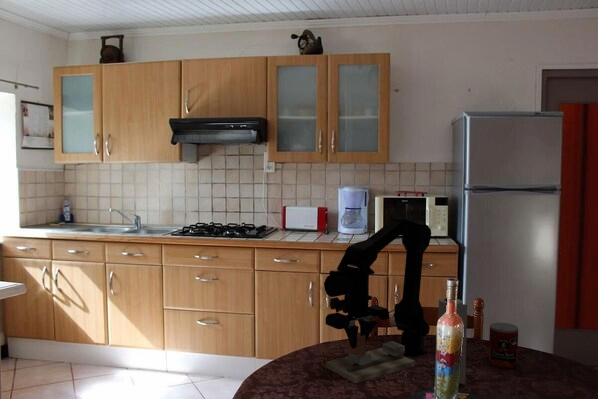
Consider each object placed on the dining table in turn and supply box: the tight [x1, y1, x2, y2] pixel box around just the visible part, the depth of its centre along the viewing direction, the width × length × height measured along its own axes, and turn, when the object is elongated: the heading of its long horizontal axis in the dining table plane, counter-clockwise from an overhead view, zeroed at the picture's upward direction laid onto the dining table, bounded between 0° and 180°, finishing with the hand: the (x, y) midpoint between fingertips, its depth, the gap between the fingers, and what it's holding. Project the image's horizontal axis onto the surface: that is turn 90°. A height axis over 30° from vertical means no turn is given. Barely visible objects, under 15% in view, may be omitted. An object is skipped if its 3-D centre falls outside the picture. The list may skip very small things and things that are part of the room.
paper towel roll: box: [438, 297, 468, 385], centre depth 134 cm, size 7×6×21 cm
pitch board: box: [324, 340, 416, 384], centre depth 143 cm, size 22×13×5 cm, turn 124°
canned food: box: [488, 322, 519, 369], centre depth 146 cm, size 8×8×11 cm
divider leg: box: [347, 331, 371, 365], centre depth 139 cm, size 4×5×8 cm
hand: (357, 347), depth 140 cm, fingers closed on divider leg, 3 cm apart
